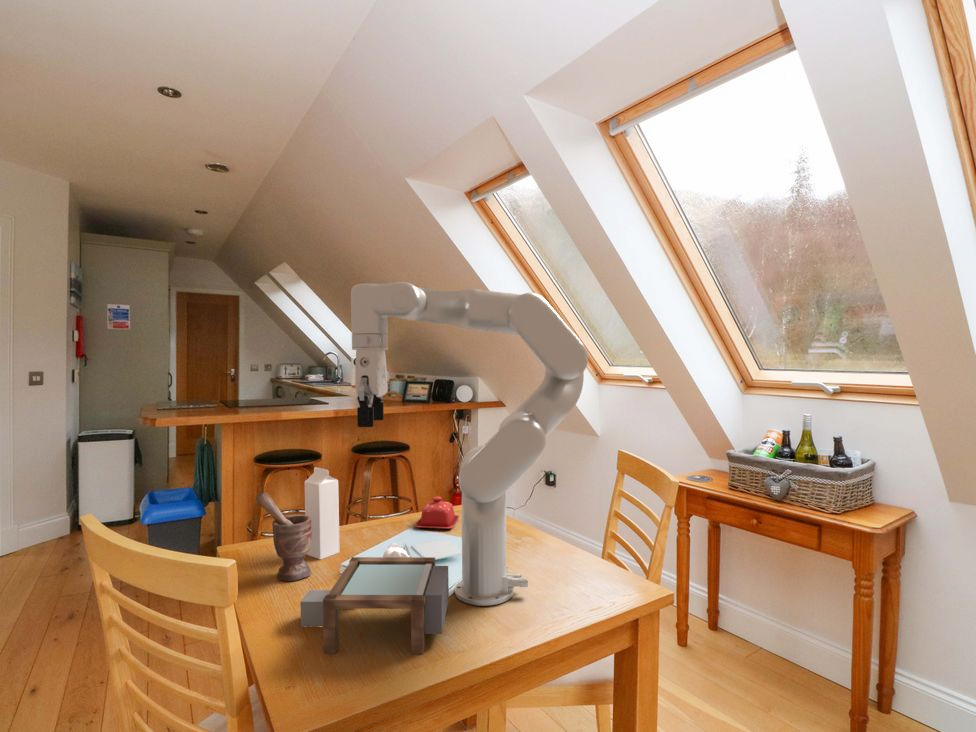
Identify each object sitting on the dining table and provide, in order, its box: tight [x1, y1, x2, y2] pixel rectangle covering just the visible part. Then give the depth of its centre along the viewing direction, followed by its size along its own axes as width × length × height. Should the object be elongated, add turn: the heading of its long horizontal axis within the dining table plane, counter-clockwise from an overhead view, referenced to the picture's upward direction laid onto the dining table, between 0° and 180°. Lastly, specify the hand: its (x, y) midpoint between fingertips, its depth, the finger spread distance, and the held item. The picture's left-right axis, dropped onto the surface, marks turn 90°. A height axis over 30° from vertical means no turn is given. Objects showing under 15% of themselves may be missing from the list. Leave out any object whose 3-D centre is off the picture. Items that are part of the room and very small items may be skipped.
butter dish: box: [414, 495, 460, 530], centre depth 164 cm, size 12×12×8 cm
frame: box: [322, 556, 436, 655], centre depth 105 cm, size 17×19×10 cm
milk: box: [304, 466, 340, 560], centre depth 142 cm, size 6×6×22 cm
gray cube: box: [300, 589, 331, 628], centre depth 108 cm, size 5×5×5 cm
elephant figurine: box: [382, 543, 414, 557], centre depth 131 cm, size 7×8×6 cm
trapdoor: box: [341, 564, 450, 635], centre depth 105 cm, size 18×15×7 cm
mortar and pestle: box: [256, 491, 312, 582], centre depth 128 cm, size 12×9×20 cm
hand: (371, 423), depth 118 cm, fingers open, 9 cm apart
